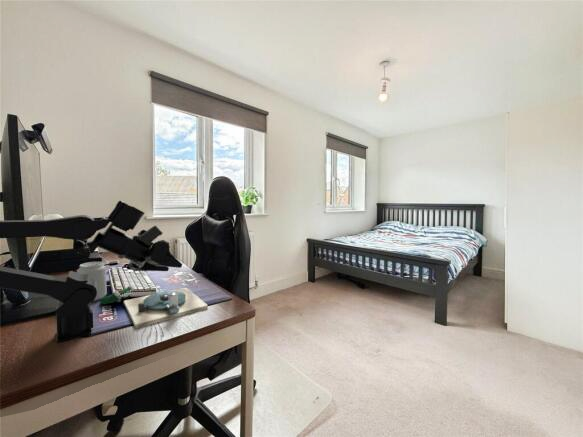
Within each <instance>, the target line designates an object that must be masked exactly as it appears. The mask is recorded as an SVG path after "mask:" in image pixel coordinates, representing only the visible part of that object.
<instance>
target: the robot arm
mask: <svg viewBox="0 0 583 437" xmlns="http://www.w3.org/2000/svg"><path fill="white" fill-rule="evenodd" d="M144 215H145V212H144V211H142V210H140V209H138V208H136V207H134V205H133V206H132V205H129V204H128V203H125V202H124V201H121V200H118V201H117V203H116V205H115V207H114V208H113V210H111V212H110V213H109V215H108V216H102V217H92V216H90V215H86V214H79V215H72V216H71V215H70V216H65V217H59V218H58V217H57V218H51V219H36V220H35V219H30V220H29V219H28V220H27V219H26V220H25V219H24V220H22V219H21V220H19V219H17V220H16V219H15V220H0V239H17V238H19V239H20V238H22V239H23V238H39V237H40V238H41V237H42V238H43V237H47V238H57V239H61V240H62V239H63V240H73V241H75V240H76V241H85V240H89V239H91V238H92V237H93V236H94V235H95V234H96V232H97V234H96V235H95V236H94V238H93V239H92V240H91V241H86V243H85V245H86V246H87V247H88V250H89V253H90V254H93V253H94V252H95V251H96V249H98V248H100V249H103V250H105V251H107V252H110V253H112V254H114V255H116V256H117V258H119V259H120V260H121V259H126V260H129V263H128V264H127V265H128V267H129V269H130V270H132V271H135V272H137V271H138V272H169V269H170V268H178V269H179V268H182V267H183V263H182V262H180V260H178V259H177V258H176V257H175V256H174V255H173V254H172V253H171V250H170V248H171V247H170V242H169V241H166V240H164V239H162V240H158V241H156V242H153V241H155V240H156V239H157V238H158V237H160V236H162V235H163V233H164V232H163V231H162V230H160V228H159V227H158V226H156V225H153V226H151V227H150V228H148V229H147V230H146V229H142V230H140V231H139V232H138V233H137V235H133V236H131V235H129V234H126V233H124V232H127V231H129V230H132V231H133V230H134V229H135V227H136V226H137V224H138V223H139V222H140V220H141V219H142V217H143V216H144ZM109 223H110V224H109ZM107 226H108V227H107ZM114 227H115V228H117V229H115V228H114ZM105 228H106V229H105ZM103 229H105V230H104V231H101V230H103ZM118 229H119V230H118ZM120 230H121V231H120ZM123 231H124V232H123ZM88 276H89V274H79V273H77V271H76V272H75V271H73V270H70V271H68V274H67V275H66V276H65V275H64V276H54V275H50V274H49V275H48V274H44V273H38V272H33V271H27V270H23V269H17V268H12V267H8V266H7V267H5V266H0V289H6V290H11V291H18V292H24V293H31V294H36V295H45V296H47V297H50V298H52V299H54V300H55V301H58V302H57V305H56V307H55V311H54V314H55V318H56V340H55V341H56V343H61V342H65V341H69V340H71V339H78V338H79V337H84V336H87V335H91V334H92V329H94V312H93V309H91V308H90V304H92V303H93V302H94V301H93V300H94V299H95V298H96V295H97V283H96V281H95V280H94V279H93V278H91V277H88Z"/></svg>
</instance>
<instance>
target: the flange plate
mask: <svg viewBox="0 0 583 437" xmlns="http://www.w3.org/2000/svg"><path fill="white" fill-rule="evenodd" d="M149 295H150V296H148V295H147V296H148V297H147V298H145V299H144V301H143V303H145V308H146V309H149V310H164V309H167V310H168V312H169V313H170V314H171V313H175V312H179V307H178V306H179V305H181V304H182V303H184V302H185V300H186V295H185V294H184V293H183V292H179V291H172V290H168V291H163V290H157V291H155V293H154V294H153V293H152V294H149Z"/></svg>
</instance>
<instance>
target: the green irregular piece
mask: <svg viewBox="0 0 583 437" xmlns="http://www.w3.org/2000/svg"><path fill="white" fill-rule="evenodd" d="M131 289H135V287H134V286H133V285H131V284H128V286H127V287H126V288H124V289H122V290H120V291H118V290H114V292H112V294H110V295H106V296H104V297H103V298H102V299H100V302H99V303H100V304H101V305H107V304H111V303H120V302H121V301H122V299H121V300H118V298H117V297H119V296H120V295H122V294H124V293H126V292H127V291H130V290H131Z"/></svg>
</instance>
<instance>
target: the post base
mask: <svg viewBox="0 0 583 437" xmlns="http://www.w3.org/2000/svg"><path fill="white" fill-rule="evenodd" d="M171 291H179V292H183V293H184V294H185V295H186V300H185V302H184V303H182V304H181V305H179V306H178V307H179V312H175V313H171V314H170V313H169V312H168V310H167V309H164V310H149V309H146V308H145V303H143V301H144V299H145V298H147V297H148V296H150V295H151V294H149V295H144V296H140V297H135V298H131V299H125V300H123V305H124V307H125V309H126V311H127V314H128V315H129V317H130V319H132V320H131V321H133V322H132V323H133V325H134V327H135V329H138V328H142V327H147V326H149V325H152V324H153V325H154V324H156V323H160V322H163V321H168V320H171V319H175V318H177V317H180V316H185V315H188V314H191V313H195V312H199V311H202V310H205V309H208V304H207V303H206V302H204V301H203V299H201V298H199V297H198V296H197V295H196V294H195V293H194V292H192V290H190V289H189V288H187V287H183V288H182V287H181V288H178V289H172V290H171Z"/></svg>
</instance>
